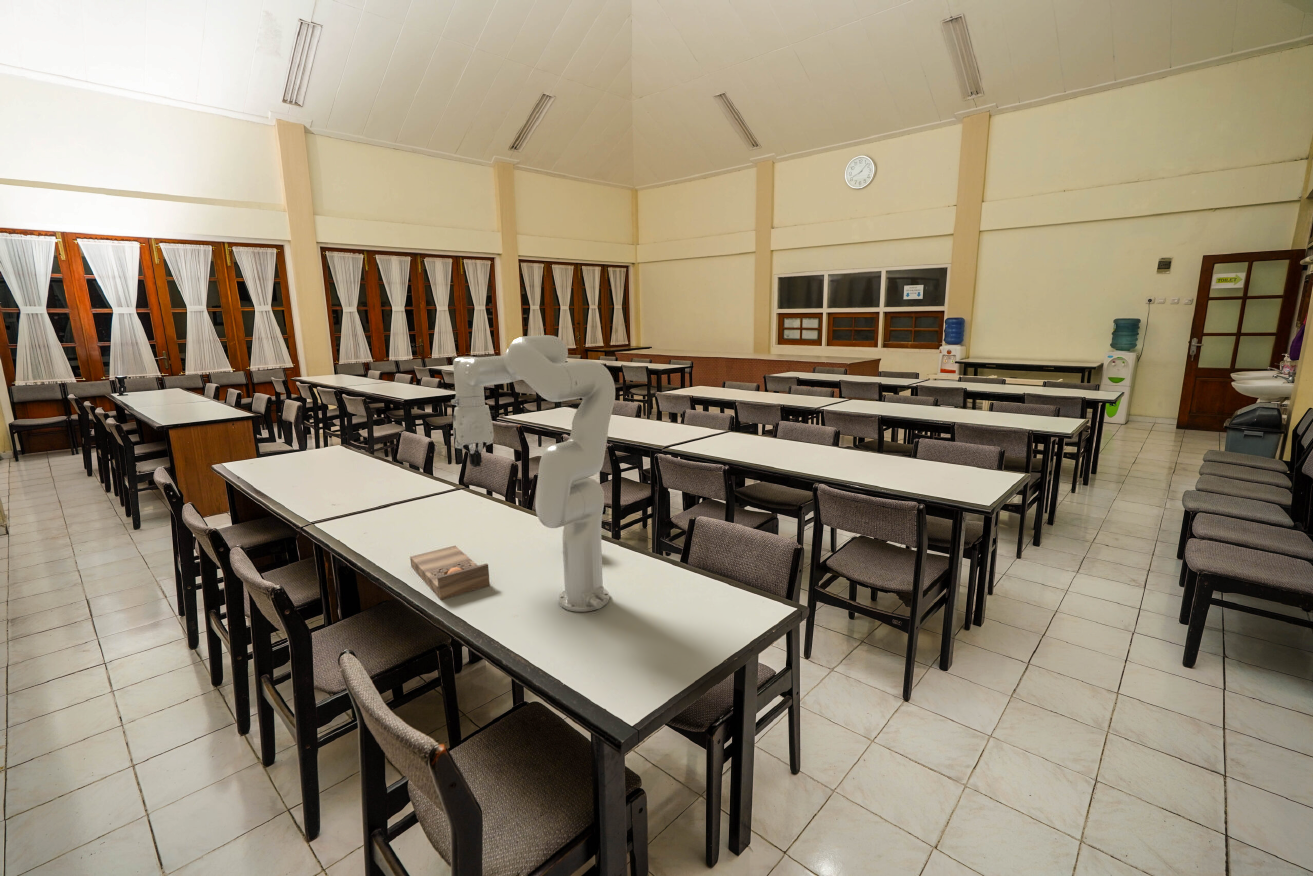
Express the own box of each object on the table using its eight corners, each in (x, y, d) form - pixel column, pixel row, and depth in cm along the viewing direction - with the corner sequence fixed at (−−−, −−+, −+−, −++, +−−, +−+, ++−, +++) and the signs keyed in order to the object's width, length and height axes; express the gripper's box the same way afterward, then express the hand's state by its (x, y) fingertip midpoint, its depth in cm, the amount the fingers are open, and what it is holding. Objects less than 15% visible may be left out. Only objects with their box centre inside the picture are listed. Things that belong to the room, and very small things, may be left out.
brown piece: (489, 585, 159) (488, 564, 158) (440, 600, 151) (438, 578, 150) (456, 555, 179) (454, 536, 178) (411, 566, 171) (409, 546, 170)
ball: (468, 567, 161) (459, 570, 164) (453, 565, 158) (444, 567, 161) (466, 583, 159) (457, 586, 162) (451, 581, 156) (442, 584, 159)
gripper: (448, 406, 158) (454, 473, 161) (501, 400, 167) (506, 464, 170) (438, 403, 163) (445, 468, 167) (490, 397, 172) (495, 459, 176)
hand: (475, 466), depth 169 cm, fingers closed
